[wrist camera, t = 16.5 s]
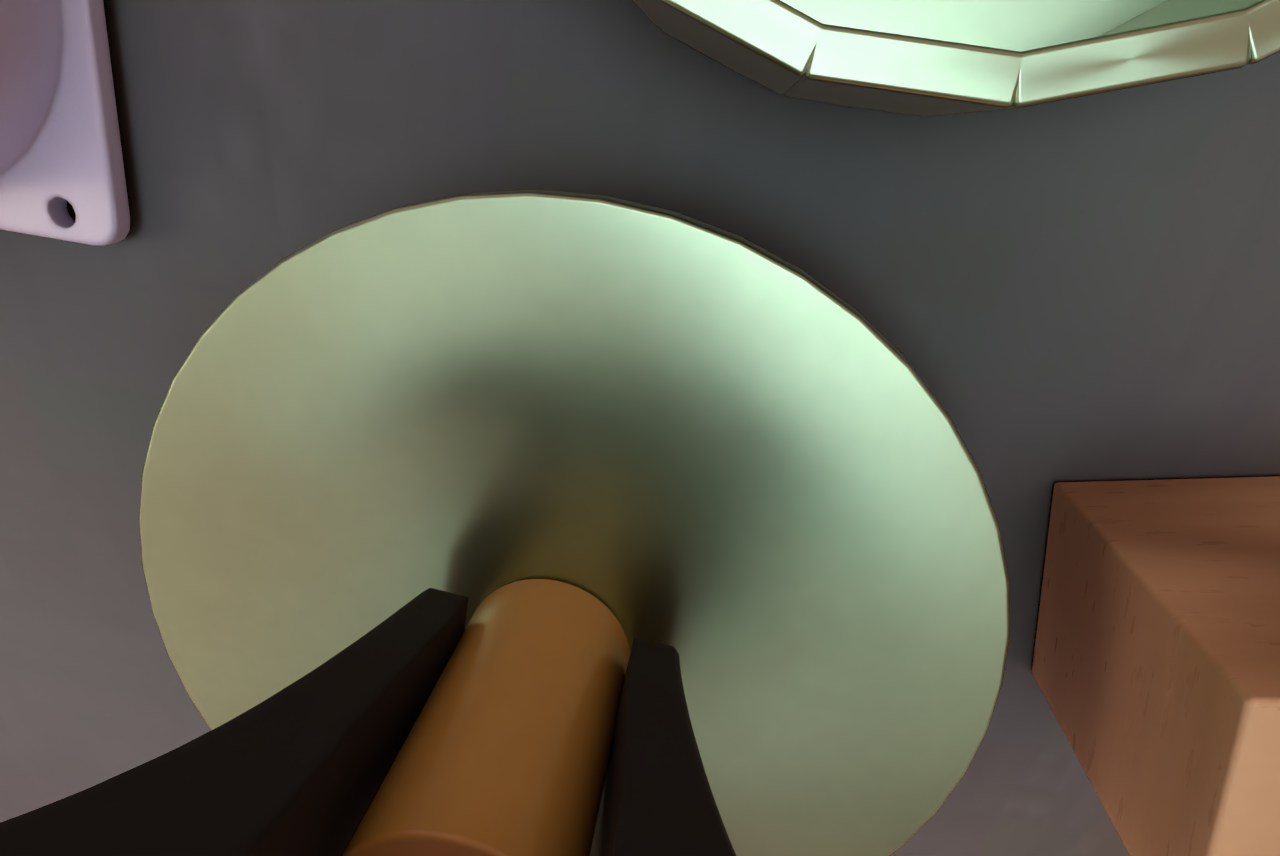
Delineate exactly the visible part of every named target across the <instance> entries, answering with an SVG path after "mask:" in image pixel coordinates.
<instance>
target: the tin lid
mask: <svg viewBox="0 0 1280 856" xmlns="http://www.w3.org/2000/svg"><path fill="white" fill-rule="evenodd" d="M139 526H140V539H141V553H142V566H143V570H144V575H145V580H146V584H147V589H148V594H149V598H150V603H151V607H152V611H153V614H154V617H155V620H156V623H157V625H158V628H159V631H160V634H161V637H162V639H163V642H164V645H165V648H166V651H167V653H168V656H169V658H170V660H171V662H172V664H173V666H174V668H175V670H176V672H177V674H178V676H179V678H180V680H181V682H182V684H183V686H184V688H185V690H186V692H187V694H188V695H189V697H190V698H191V700H192V702H193V703H194V705H195V706H196V708H197V709H198V711H199V712H200V714H201V715H202V717H203V718H204V720H205V722H206V723H207V725H208V726H209V728H210V729H211V730H213V729H215V728H217V727H219V726H221V725H223V724H224V723H226V722H228V721H230V720H232V719H233V718H235V717H237V716H239V715H240V714H242V713H244V712H246V711H247V710H249V709H251V708H253V707H254V706H256V705H258V704H260V703H261V702H263V701H265V700H266V699H268V698H269V697H271V696H273V695H274V694H276V693H277V692H279V691H281V690H282V689H284V688H285V687H287V686H289V685H290V684H292V683H294V682H295V681H297V680H298V679H300V678H302V677H303V676H305V675H306V674H308V673H310V672H311V671H313V670H314V669H316V668H317V667H319V666H320V665H322V664H323V663H325V662H326V661H328V660H329V659H330V658H332V657H333V656H335V655H336V654H338V653H339V652H341V651H342V650H344V649H345V648H346V647H348V646H349V645H351V644H352V643H354V642H355V641H357V640H358V639H360V638H361V637H362V636H364V635H365V634H366V633H368V632H369V631H371V630H372V629H373V628H375V627H376V626H378V625H379V624H380V623H382V622H383V621H384V620H386V619H387V618H388V617H390V616H391V615H392V614H394V613H395V612H396V611H398V610H399V609H400V608H402V607H403V606H404V605H406V604H407V603H408V602H410V601H411V600H412V599H414V598H415V597H416V596H418V595H419V594H420V593H422V592H423V591H425V590H427V589H429V588H434V589H438V590H442V591H446V592H450V593H454V594H458V595H462V596H467V597H468V605H467V613H466V621H465V629H464V632H463V634H462V636H461V638H460V640H459V641H458V643H457V645H456V647H455V649H454V650H453V652H452V654H451V656H450V658H449V660H448V661H447V663H446V665H445V667H444V669H443V671H442V672H441V674H440V676H439V678H438V680H437V682H436V683H435V685H434V687H433V689H432V691H431V692H430V694H429V696H428V698H427V700H426V702H425V703H424V705H423V707H422V709H421V711H420V713H419V714H418V716H417V718H416V720H415V722H414V724H413V725H412V727H411V729H410V731H409V733H408V735H407V736H406V738H405V740H404V742H403V744H402V745H401V747H400V749H399V751H398V753H397V755H396V756H395V758H394V760H393V762H392V764H391V766H390V767H389V769H388V771H387V773H386V775H385V777H384V778H383V780H382V782H381V784H380V786H379V787H378V789H377V791H376V793H375V795H374V797H373V798H372V800H371V802H370V804H369V806H368V808H367V809H366V811H365V813H364V815H363V817H362V819H361V820H360V822H359V824H358V826H357V828H356V829H355V831H354V833H353V835H352V837H351V839H350V840H349V842H348V844H347V846H346V848H345V850H344V851H343V853H342V855H341V856H590V852H591V847H592V842H593V838H594V833H595V828H596V823H597V818H598V813H599V808H600V803H601V799H602V794H603V789H604V784H605V779H606V774H607V769H608V764H609V760H610V755H611V748H612V742H613V735H614V728H615V722H616V717H617V712H618V707H619V703H620V698H621V693H622V688H623V683H624V679H625V674H626V670H627V666H628V661H629V657H630V653H631V649H632V645H633V640H634V637H636V638H640V639H644V640H649V641H653V642H657V643H661V644H665V645H669V646H673V647H675V649H676V650H677V652H678V654H679V659H680V669H681V677H682V683H683V688H684V693H685V698H686V703H687V707H688V712H689V716H690V720H691V724H692V728H693V732H694V736H695V739H696V742H697V746H698V749H699V752H700V756H701V759H702V763H703V766H704V769H705V773H706V776H707V779H708V782H709V785H710V788H711V791H712V794H713V796H714V799H715V802H716V805H717V807H718V810H719V813H720V816H721V818H722V821H723V824H724V826H725V829H726V831H727V834H728V837H729V839H730V842H731V844H732V847H733V849H734V851H735V854H736V856H890V855H891V854H892V853H894V852H895V851H896V850H897V849H899V848H900V847H901V846H903V845H904V844H905V843H906V842H907V841H908V840H909V839H910V838H911V837H912V836H913V835H914V834H915V833H916V832H917V831H918V830H919V829H920V828H921V827H922V826H923V825H924V824H925V823H926V822H927V821H928V820H929V819H930V818H931V817H932V816H933V815H934V814H935V813H936V812H937V811H938V809H939V808H940V807H941V805H942V804H943V803H944V801H945V800H946V799H947V797H948V796H949V794H950V793H951V792H952V790H953V789H954V788H955V786H956V785H957V784H958V782H959V781H960V780H961V778H962V777H963V775H964V774H965V772H966V770H967V769H968V767H969V765H970V763H971V761H972V759H973V757H974V755H975V753H976V751H977V749H978V747H979V745H980V744H981V742H982V740H983V738H984V736H985V734H986V732H987V729H988V726H989V723H990V720H991V717H992V714H993V711H994V708H995V705H996V702H997V699H998V696H999V693H1000V690H1001V687H1002V682H1003V675H1004V669H1005V662H1006V656H1007V649H1008V643H1009V636H1010V606H1009V577H1008V572H1007V567H1006V561H1005V556H1004V550H1003V545H1002V539H1001V534H1000V528H999V524H998V522H997V519H996V516H995V513H994V510H993V508H992V505H991V502H990V499H989V496H988V494H987V491H986V488H985V485H984V482H983V480H982V477H981V474H980V471H979V469H978V467H977V466H976V464H975V462H974V460H973V458H972V456H971V455H970V453H969V451H968V449H967V447H966V446H965V444H964V442H963V440H962V438H961V436H960V435H959V433H958V431H957V429H956V427H955V425H954V424H953V422H952V420H951V418H950V416H949V415H948V414H947V412H946V411H945V409H944V408H943V407H942V405H941V404H940V403H939V401H938V400H937V399H936V398H935V396H934V395H933V394H932V392H931V391H930V390H929V388H928V387H927V386H926V384H925V383H924V382H923V380H922V379H921V378H920V377H919V375H918V374H917V373H916V371H915V370H914V369H913V367H912V366H911V365H910V363H909V362H908V361H907V359H906V358H905V357H904V356H903V355H902V354H901V353H900V352H899V351H898V350H897V349H896V348H895V347H894V346H893V345H892V344H891V343H890V342H889V341H888V340H887V339H886V338H885V337H884V336H883V335H882V334H881V333H880V332H879V331H878V330H877V329H876V328H875V327H874V326H873V325H872V324H871V323H870V322H869V321H868V320H867V319H865V318H864V317H863V316H862V315H861V314H860V313H859V312H858V311H857V310H856V309H855V308H853V307H852V306H851V305H849V304H848V303H847V302H845V301H844V300H843V299H841V298H840V297H838V296H837V295H836V294H834V293H833V292H832V291H830V290H829V289H828V288H826V287H825V286H824V285H822V284H821V283H819V282H818V281H817V280H815V279H814V278H813V277H811V276H810V275H809V274H807V273H806V272H804V271H803V270H802V269H800V268H798V267H796V266H794V265H793V264H791V263H789V262H787V261H785V260H783V259H782V258H780V257H778V256H776V255H774V254H772V253H770V252H769V251H767V250H765V249H763V248H761V247H759V246H758V245H756V244H754V243H752V242H750V241H748V240H746V239H745V238H743V237H741V236H739V235H736V234H733V233H731V232H728V231H725V230H723V229H720V228H717V227H715V226H712V225H709V224H707V223H704V222H701V221H699V220H696V219H694V218H691V217H688V216H686V215H683V214H680V213H678V212H675V211H671V210H667V209H662V208H658V207H654V206H649V205H645V204H641V203H636V202H632V201H627V200H623V199H619V198H614V197H610V196H606V195H594V194H583V193H572V192H560V191H549V190H538V189H536V190H516V191H497V192H478V193H467V194H462V195H457V196H452V197H447V198H442V199H437V200H432V201H427V202H422V203H417V204H412V205H407V206H403V207H398V208H394V209H391V210H389V211H386V212H383V213H380V214H378V215H375V216H372V217H369V218H367V219H364V220H361V221H358V222H356V223H353V224H350V225H347V226H344V227H342V228H339V229H336V230H334V231H332V232H330V233H329V234H327V235H325V236H323V237H321V238H320V239H318V240H316V241H314V242H312V243H310V244H309V245H307V246H305V247H303V248H301V249H300V250H298V251H296V252H294V253H292V254H291V255H289V256H287V257H285V258H283V259H282V260H281V261H279V262H278V263H277V264H275V265H274V266H273V267H272V268H270V269H269V270H268V271H267V272H265V273H264V274H263V275H261V276H260V277H259V278H258V279H256V280H255V281H254V282H253V283H251V284H250V285H249V286H248V287H246V288H245V289H244V290H242V291H241V292H240V293H239V294H238V295H237V296H236V297H235V298H234V299H233V300H232V301H231V302H230V303H229V304H228V306H227V307H226V308H225V309H224V310H223V311H222V312H221V313H220V314H219V315H218V317H217V318H216V319H215V320H214V321H213V322H212V323H211V324H210V325H209V327H208V328H207V329H206V330H205V331H204V332H203V333H202V334H201V336H200V337H199V339H198V341H197V342H196V344H195V345H194V347H193V348H192V350H191V352H190V353H189V355H188V356H187V358H186V359H185V361H184V363H183V364H182V366H181V367H180V369H179V370H178V372H177V374H176V375H175V377H174V378H173V380H172V383H171V385H170V387H169V390H168V392H167V395H166V397H165V399H164V402H163V404H162V406H161V409H160V411H159V414H158V416H157V418H156V421H155V423H154V426H153V430H152V434H151V438H150V443H149V447H148V451H147V455H146V460H145V464H144V468H143V473H142V486H141V499H140V512H139Z"/></svg>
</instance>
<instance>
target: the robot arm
mask: <svg viewBox="0 0 1280 856" xmlns="http://www.w3.org/2000/svg"><path fill="white" fill-rule="evenodd" d="M67 201H68V202H69V203H70V204H71V205H72V206H73V208H74V211H75V214H76V221H74V220H73V219H72V218H71V217H70V216H69V213H68V211H67ZM0 229H1V230H7V231H12V232H18V233H24V234H30V235H36V236H42V237H48V238H53V239H59V240H65V241H71V242H77V243H83V244H89V245H94V246H96V245H108V244H114V243H118V242H120V241H121V240H123V239H125V238H126V236H127V234H128V232H129V230H130V213H129V204H128V196H127V188H126V180H125V172H124V164H123V156H122V148H121V140H120V132H119V124H118V116H117V108H116V100H115V92H114V84H113V76H112V68H111V60H110V52H109V44H108V36H107V28H106V20H105V12H104V4H103V0H0ZM467 605H468V597H467V596H462V595H458V594H454V593H450V592H446V591H442V590H438V589H434V588H429V589H427V590H425V591H423V592H422V593H420V594H419V595H418V596H416V597H415V598H414V599H412V600H411V601H410V602H408V603H407V604H406V605H404V606H403V607H402V608H400V609H399V610H398V611H396V612H395V613H394V614H392V615H391V616H390V617H388V618H387V619H386V620H384V621H383V622H382V623H380V624H379V625H378V626H376V627H375V628H373V629H372V630H371V631H369V632H368V633H366V634H365V635H364V636H362V637H361V638H360V639H358V640H357V641H355V642H354V643H352V644H351V645H349V646H348V647H346V648H345V649H344V650H342V651H341V652H339V653H338V654H336V655H335V656H333V657H332V658H330V659H329V660H328V661H326V662H325V663H323V664H322V665H320V666H319V667H317V668H316V669H314V670H313V671H311V672H310V673H308V674H306V675H305V676H303V677H302V678H300V679H298V680H297V681H295V682H294V683H292V684H290V685H289V686H287V687H285V688H284V689H282V690H281V691H279V692H277V693H276V694H274V695H273V696H271V697H269V698H268V699H266V700H265V701H263V702H261V703H260V704H258V705H256V706H254V707H253V708H251V709H249V710H247V711H246V712H244V713H242V714H240V715H239V716H237V717H235V718H233V719H232V720H230V721H228V722H226V723H224V724H223V725H221V726H219V727H217V728H215V729H213V730H211V731H209V732H207V733H206V734H204V735H202V736H200V737H198V738H196V739H194V740H192V741H190V742H188V743H186V744H184V745H182V746H181V747H179V748H176V749H174V750H172V751H170V752H168V753H166V754H164V755H162V756H160V757H158V758H155V759H153V760H151V761H149V762H146V763H144V764H142V765H140V766H137V767H135V768H133V769H131V770H129V771H126V772H124V773H122V774H120V775H117V776H115V777H113V778H111V779H109V780H106V781H104V782H102V783H100V784H97V785H95V786H93V787H91V788H88V789H86V790H84V791H81V792H79V793H76V794H74V795H71V796H69V797H66V798H64V799H61V800H59V801H56V802H54V803H51V804H49V805H46V806H44V807H41V808H39V809H36V810H34V811H31V812H28V813H26V814H23V815H20V816H18V817H15V818H12V819H10V820H7V821H4V822H1V823H0V856H341V855H342V853H343V851H344V850H345V848H346V846H347V844H348V842H349V840H350V839H351V837H352V835H353V833H354V831H355V829H356V828H357V826H358V824H359V822H360V820H361V819H362V817H363V815H364V813H365V811H366V809H367V808H368V806H369V804H370V802H371V800H372V798H373V797H374V795H375V793H376V791H377V789H378V787H379V786H380V784H381V782H382V780H383V778H384V777H385V775H386V773H387V771H388V769H389V767H390V766H391V764H392V762H393V760H394V758H395V756H396V755H397V753H398V751H399V749H400V747H401V745H402V744H403V742H404V740H405V738H406V736H407V735H408V733H409V731H410V729H411V727H412V725H413V724H414V722H415V720H416V718H417V716H418V714H419V713H420V711H421V709H422V707H423V705H424V703H425V702H426V700H427V698H428V696H429V694H430V692H431V691H432V689H433V687H434V685H435V683H436V682H437V680H438V678H439V676H440V674H441V672H442V671H443V669H444V667H445V665H446V663H447V661H448V660H449V658H450V656H451V654H452V652H453V650H454V649H455V647H456V645H457V643H458V641H459V640H460V638H461V636H462V634H463V632H464V629H465V621H466V613H467ZM590 856H736V854H735V851H734V849H733V847H732V844H731V842H730V839H729V837H728V834H727V831H726V829H725V826H724V824H723V821H722V818H721V816H720V813H719V810H718V807H717V805H716V802H715V799H714V796H713V794H712V791H711V788H710V785H709V782H708V779H707V776H706V773H705V769H704V766H703V763H702V759H701V756H700V752H699V749H698V746H697V742H696V739H695V736H694V732H693V728H692V724H691V720H690V716H689V712H688V707H687V703H686V698H685V693H684V688H683V683H682V677H681V669H680V659H679V654H678V652H677V650H676V649H675V647H673V646H669V645H665V644H661V643H657V642H653V641H649V640H644V639H640V638H636V637H634V640H633V645H632V649H631V653H630V657H629V661H628V666H627V670H626V674H625V679H624V683H623V688H622V693H621V698H620V703H619V707H618V712H617V717H616V722H615V728H614V735H613V742H612V748H611V755H610V760H609V764H608V769H607V774H606V779H605V784H604V789H603V794H602V799H601V803H600V808H599V813H598V818H597V823H596V828H595V833H594V838H593V842H592V847H591V852H590Z"/></svg>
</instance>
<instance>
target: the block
mask: <svg viewBox="0 0 1280 856" xmlns="http://www.w3.org/2000/svg"><path fill="white" fill-rule="evenodd" d="M1032 674H1033V676H1034V678H1035V680H1036V681H1037V683H1038V685H1039V687H1040V689H1041V691H1042V693H1043V694H1044V696H1045V698H1046V700H1047V702H1048V704H1049V706H1050V707H1051V709H1052V711H1053V713H1054V715H1055V717H1056V719H1057V720H1058V722H1059V724H1060V726H1061V728H1062V730H1063V732H1064V734H1065V735H1066V737H1067V739H1068V741H1069V743H1070V745H1071V747H1072V748H1073V750H1074V752H1075V754H1076V756H1077V758H1078V760H1079V761H1080V763H1081V765H1082V767H1083V769H1084V771H1085V773H1086V774H1087V776H1088V778H1089V780H1090V782H1091V784H1092V786H1093V787H1094V789H1095V791H1096V793H1097V795H1098V797H1099V799H1100V800H1101V802H1102V804H1103V806H1104V808H1105V810H1106V812H1107V813H1108V815H1109V817H1110V819H1111V821H1112V823H1113V825H1114V826H1115V828H1116V830H1117V832H1118V834H1119V836H1120V838H1121V839H1122V841H1123V843H1124V845H1125V847H1126V849H1127V851H1128V852H1129V854H1130V856H1280V476H1272V477H1236V478H1201V479H1165V480H1130V481H1095V482H1059V483H1055V485H1054V490H1053V499H1052V507H1051V516H1050V524H1049V533H1048V541H1047V549H1046V558H1045V566H1044V575H1043V583H1042V592H1041V600H1040V608H1039V617H1038V625H1037V634H1036V642H1035V651H1034V659H1033V668H1032Z"/></svg>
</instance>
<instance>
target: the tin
mask: <svg viewBox="0 0 1280 856" xmlns="http://www.w3.org/2000/svg"><path fill="white" fill-rule="evenodd" d="M633 1H634V2H635V3H636V5H637V6H638V7H639V8H640V9H641V10H642V11H643V12H644V13H645V14H646V15H647V17H648V18H649V19H650V20H651V21H652V22H653V23H654V24H655V25H656V26H657V27H659V28H661V30H662V31H663V32H665V33H667V34H669V35H670V36H672V37H674V38H676V39H678V40H680V41H682V42H683V43H685V44H687V45H689V46H691V47H692V48H694V49H696V50H698V51H699V52H701V53H703V54H705V55H707V56H708V57H710V58H712V59H714V60H716V61H717V62H719V63H721V64H723V65H724V66H726V67H728V68H730V69H732V70H733V71H735V72H737V73H739V74H741V75H742V76H745V77H748V78H750V79H752V80H754V81H756V82H758V83H760V84H761V85H763V86H765V87H767V88H769V89H771V90H773V91H774V92H776V93H778V94H782V95H783V94H785V96H787V97H792V98H799V99H805V100H812V101H819V102H826V103H832V104H836V105H841V106H845V107H851V108H865V109H873V110H880V111H887V112H894V113H901V114H907V115H914V116H933V115H944V114H955V113H967V112H978V111H990V110H1001V109H1012V108H1021V107H1027V106H1032V105H1038V104H1043V103H1049V102H1054V101H1060V100H1065V99H1071V98H1077V97H1082V96H1088V95H1093V94H1099V93H1104V92H1110V91H1115V90H1121V89H1126V88H1132V87H1137V86H1143V85H1148V84H1154V83H1159V82H1165V81H1171V80H1176V79H1182V78H1187V77H1193V76H1198V75H1204V74H1209V73H1215V72H1220V71H1226V70H1231V69H1237V68H1241V67H1243V66H1245V65H1246V64H1253V63H1257V62H1259V61H1261V60H1263V59H1265V58H1267V57H1269V56H1271V55H1273V54H1275V53H1277V52H1280V0H633Z"/></svg>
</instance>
